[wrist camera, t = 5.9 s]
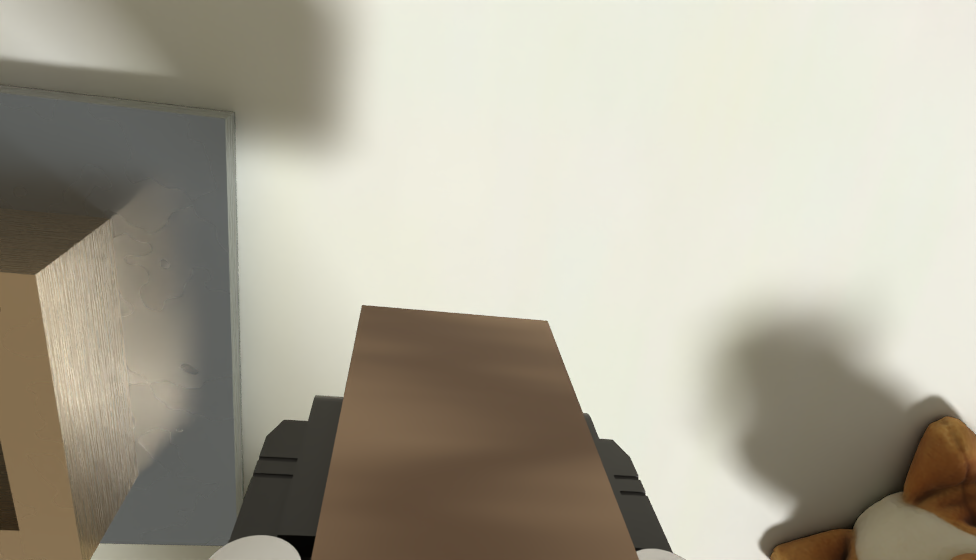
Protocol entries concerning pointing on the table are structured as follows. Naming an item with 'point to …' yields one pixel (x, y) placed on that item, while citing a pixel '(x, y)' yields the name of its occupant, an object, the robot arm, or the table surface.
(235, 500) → the well stand
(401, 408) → the walnut bar
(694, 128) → the table surface
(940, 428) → the stuffed squirrel
